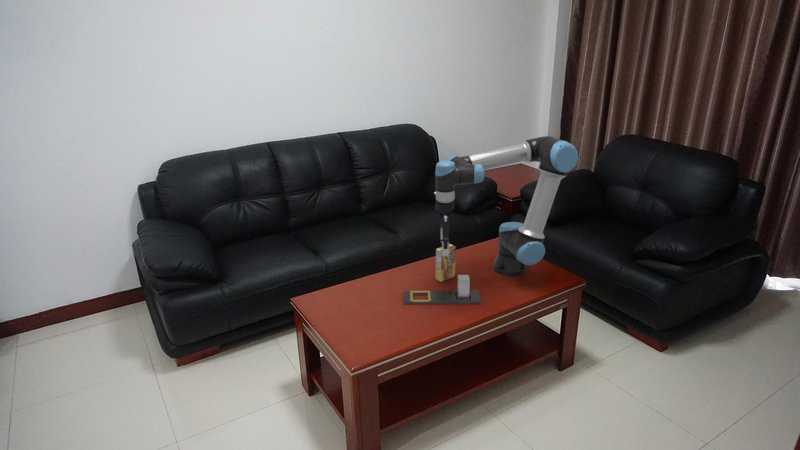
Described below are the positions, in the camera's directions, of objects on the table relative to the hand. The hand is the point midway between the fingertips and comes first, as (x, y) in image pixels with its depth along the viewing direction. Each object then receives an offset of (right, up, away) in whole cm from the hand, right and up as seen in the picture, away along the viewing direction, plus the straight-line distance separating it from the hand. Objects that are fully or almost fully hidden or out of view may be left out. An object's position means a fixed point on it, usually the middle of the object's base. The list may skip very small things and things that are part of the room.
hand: (444, 248), depth 205 cm
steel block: (+8, -21, +3) cm, 23 cm away
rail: (-1, -21, +3) cm, 22 cm away
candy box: (+2, -15, +21) cm, 26 cm away
